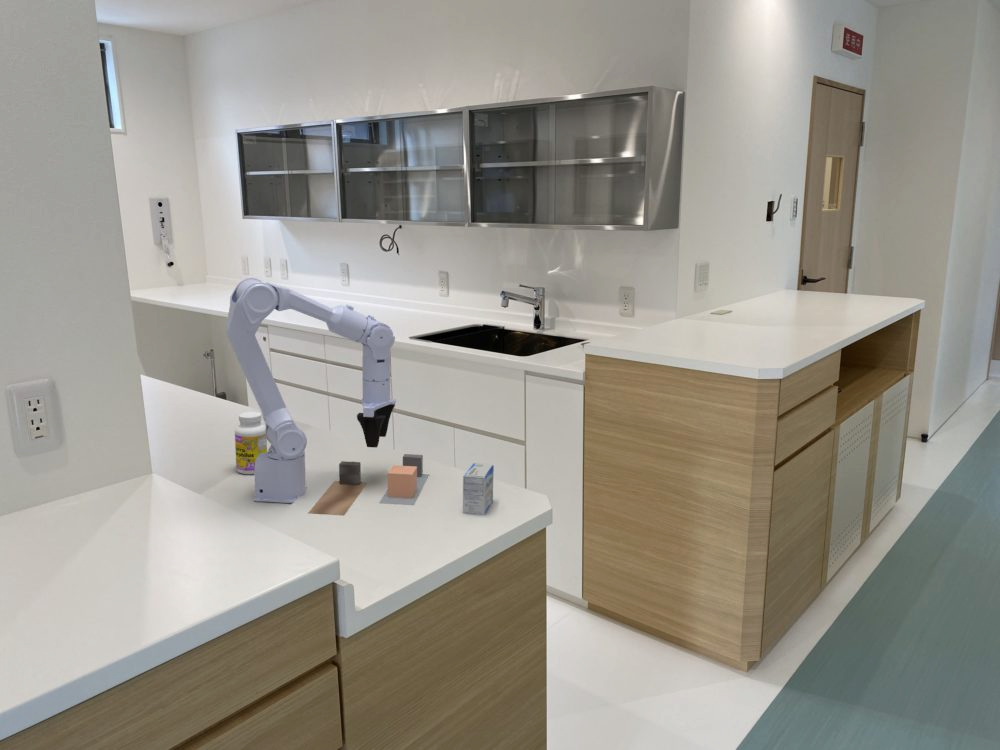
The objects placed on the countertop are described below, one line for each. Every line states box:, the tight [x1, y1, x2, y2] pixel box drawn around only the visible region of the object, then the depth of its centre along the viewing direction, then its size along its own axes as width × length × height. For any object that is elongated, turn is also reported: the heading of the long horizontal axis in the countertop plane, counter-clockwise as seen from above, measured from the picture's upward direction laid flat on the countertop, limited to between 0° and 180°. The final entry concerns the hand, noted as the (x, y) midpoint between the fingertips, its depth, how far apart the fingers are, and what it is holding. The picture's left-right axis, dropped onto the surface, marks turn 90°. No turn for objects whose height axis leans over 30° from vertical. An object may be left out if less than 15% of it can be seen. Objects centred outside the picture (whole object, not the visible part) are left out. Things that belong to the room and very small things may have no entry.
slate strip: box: [378, 453, 430, 506], centre depth 157 cm, size 7×18×5 cm, turn 176°
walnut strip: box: [307, 460, 368, 516], centre depth 150 cm, size 7×18×5 cm, turn 176°
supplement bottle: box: [234, 411, 268, 475], centre depth 166 cm, size 7×7×13 cm
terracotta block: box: [387, 464, 417, 498], centre depth 153 cm, size 5×5×5 cm
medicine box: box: [462, 462, 495, 516], centre depth 147 cm, size 8×4×9 cm, turn 168°
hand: (376, 441), depth 159 cm, fingers open, 7 cm apart
